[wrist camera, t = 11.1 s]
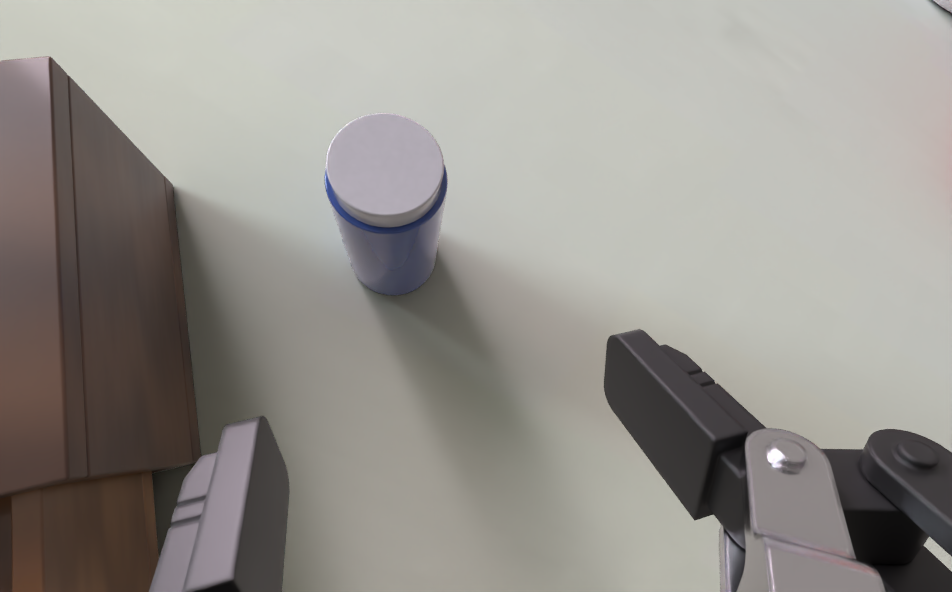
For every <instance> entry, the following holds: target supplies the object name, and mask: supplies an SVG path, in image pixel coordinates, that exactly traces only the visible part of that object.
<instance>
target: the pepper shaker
mask: <svg viewBox="0 0 952 592" xmlns="http://www.w3.org/2000/svg"><path fill="white" fill-rule="evenodd" d="M447 182H448V181H447V172H446V168H445V165H444V160H443V155H442V152H441V149H440V147H439V145H438V143H437V141H436V140H435V139H434V137H433V136H432V135H431V134H430V133H429V131H428V130H427V129H425V128H424V127H423V126H422V125H420V124H419V123H417V122H415V121H413V120H411V119H409V118H407V117H404V116H401V115H396V114H389V113H377V114H370V115H366V116H363V117H360V118H357V119H355V120H353V121H351V122H350V123H348V124H347V125H345V126H344V127H343V128H342V129H341V130H340V131H339V132H338V133H337V134H336V135H335V137H334V139H333V140H332V142H331V144H330V146H329V149H328V152H327V156H326V170H325V188H326V192H327V195H328V198H329V201H330V204H331V207H332V210H333V213H334V216H335V219H336V222H337V225H338V228H339V231H340V234H341V237H342V240H343V242H344V245H345V248H346V251H347V254H348V257H349V260H350V263H351V266H352V269H353V271H354V273H355V275H356V276H357V278H358V279H359V280H360V281H361V283H362V284H364V285H365V286H366V287H368V288H369V289H371V290H373V291H375V292H377V293H380V294H385V295H401V294H406V293H409V292H411V291H413V290H415V289H417V288H419V287H420V286H421V285H422V284H424V282H425V281H426V280H427V279H428V278H429V276H430V275H431V273H432V271H433V268H434V265H435V261H436V254H437V248H438V242H439V236H440V229H441V223H442V217H443V211H444V204H445V198H446V192H447Z"/></svg>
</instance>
